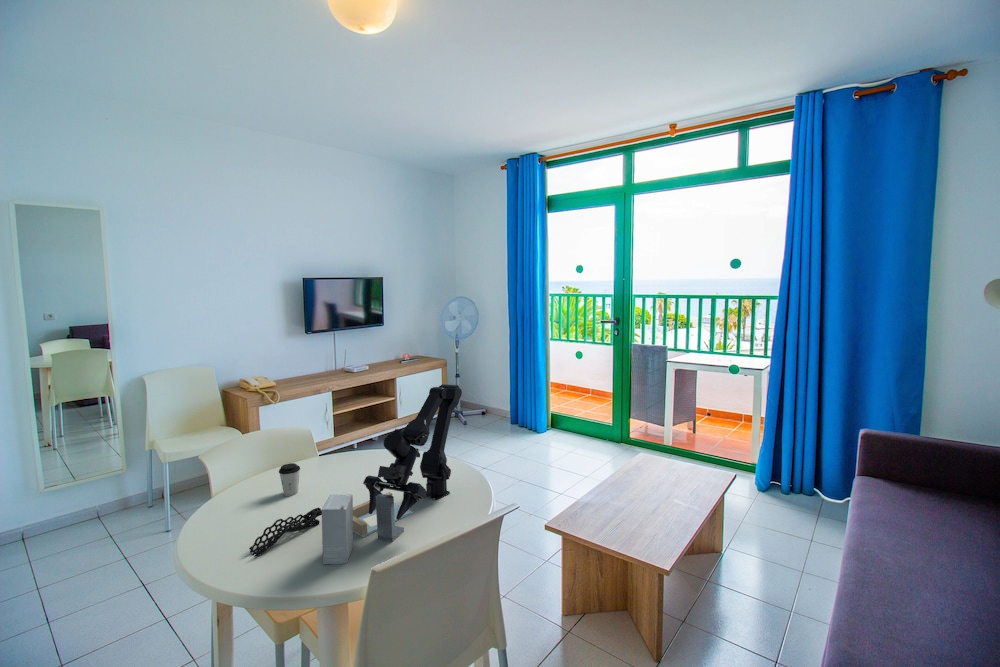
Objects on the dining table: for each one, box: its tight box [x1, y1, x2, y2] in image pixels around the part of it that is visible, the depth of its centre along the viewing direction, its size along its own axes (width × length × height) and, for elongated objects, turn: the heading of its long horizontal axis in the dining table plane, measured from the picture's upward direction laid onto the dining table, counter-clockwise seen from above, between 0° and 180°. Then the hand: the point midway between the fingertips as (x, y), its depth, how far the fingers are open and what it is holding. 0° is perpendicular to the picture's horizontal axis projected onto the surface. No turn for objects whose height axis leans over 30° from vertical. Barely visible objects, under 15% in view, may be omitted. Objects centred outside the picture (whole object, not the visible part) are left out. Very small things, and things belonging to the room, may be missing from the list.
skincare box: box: [320, 493, 354, 565], centre depth 124 cm, size 8×7×16 cm
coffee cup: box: [278, 462, 301, 497], centre depth 163 cm, size 7×7×10 cm
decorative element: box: [249, 506, 322, 557], centre depth 135 cm, size 22×5×6 cm, turn 150°
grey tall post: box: [376, 493, 405, 543], centre depth 134 cm, size 6×5×13 cm
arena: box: [353, 491, 413, 538], centre depth 144 cm, size 18×12×4 cm, turn 139°
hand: (383, 516), depth 131 cm, fingers open, 9 cm apart
